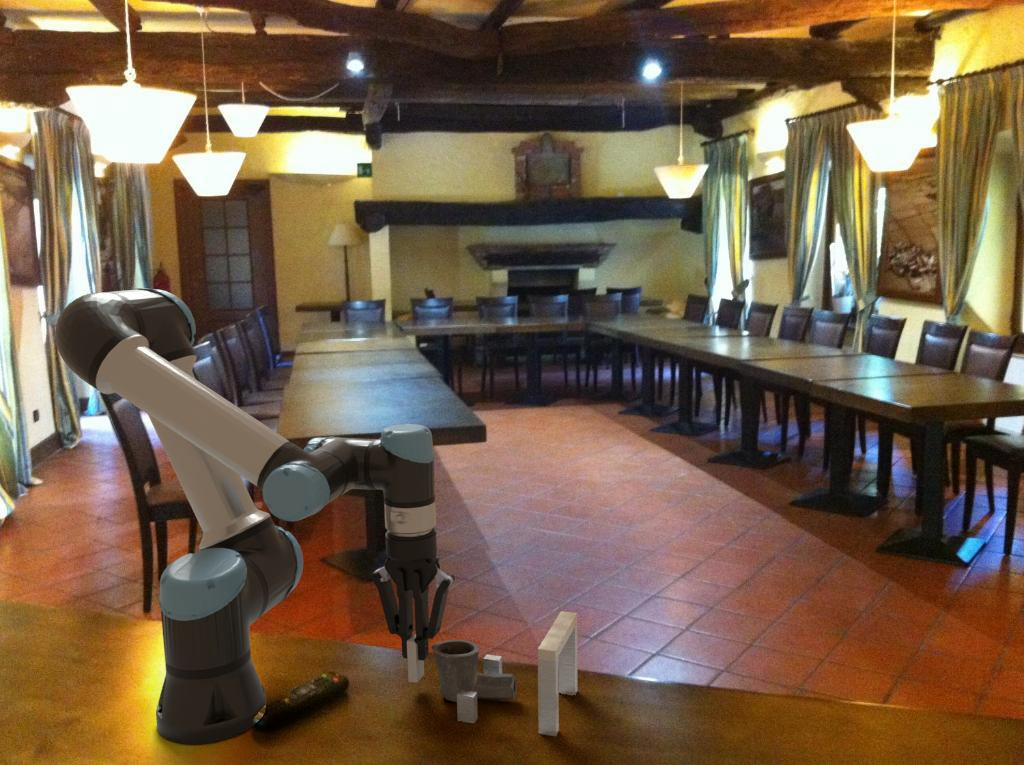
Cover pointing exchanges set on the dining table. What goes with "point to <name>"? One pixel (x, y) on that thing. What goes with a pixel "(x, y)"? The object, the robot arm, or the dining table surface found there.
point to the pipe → (469, 673)
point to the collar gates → (539, 674)
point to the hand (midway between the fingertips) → (416, 677)
